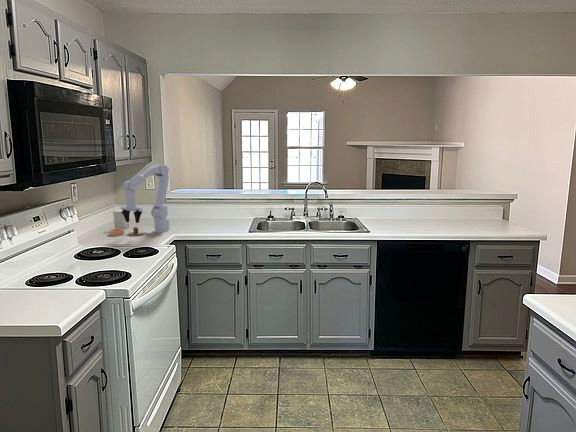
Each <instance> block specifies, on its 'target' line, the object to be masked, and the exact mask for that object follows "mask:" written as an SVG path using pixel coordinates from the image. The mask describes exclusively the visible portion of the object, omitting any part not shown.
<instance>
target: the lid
mask: <svg viewBox="0 0 576 432" xmlns="http://www.w3.org/2000/svg"><path fill="white" fill-rule="evenodd" d="M144 233H145V232H143V231H139V227H137V226H134V227H133V231H132V232H128V233H127V234H128V235H129V237H137V236H138V237H141V236H140V235H142V236H144V235H143V234H144Z"/></svg>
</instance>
